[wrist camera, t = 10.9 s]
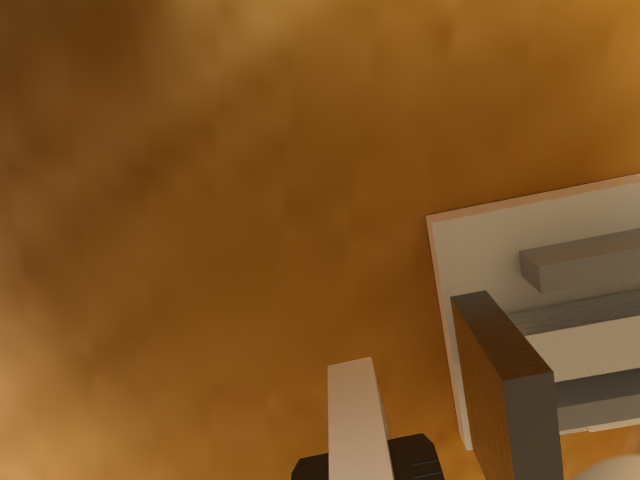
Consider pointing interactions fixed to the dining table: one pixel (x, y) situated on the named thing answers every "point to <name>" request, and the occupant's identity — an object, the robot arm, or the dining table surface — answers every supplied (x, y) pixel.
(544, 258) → the base
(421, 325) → the dining table surface
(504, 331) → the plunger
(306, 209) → the dining table surface
